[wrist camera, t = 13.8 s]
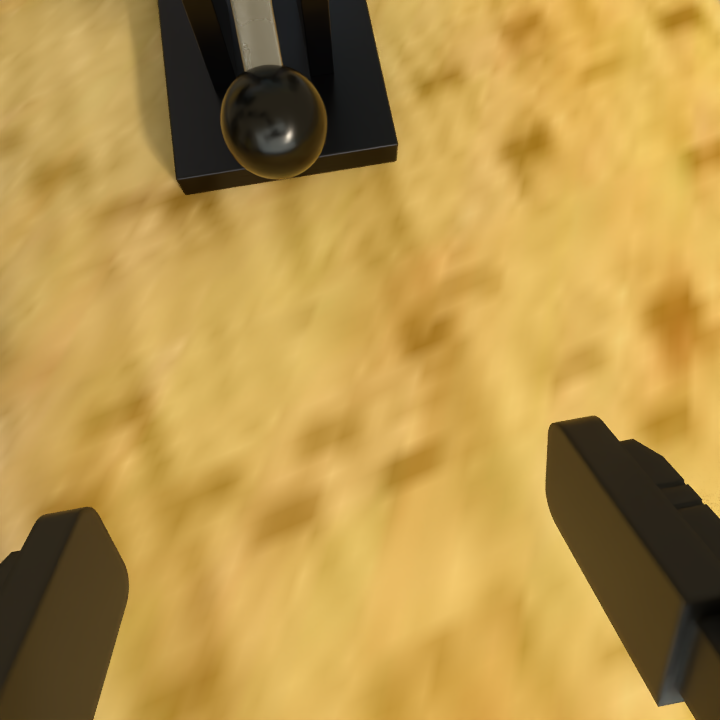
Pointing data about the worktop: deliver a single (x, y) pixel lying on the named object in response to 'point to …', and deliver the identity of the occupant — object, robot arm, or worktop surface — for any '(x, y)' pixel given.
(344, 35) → the bracket
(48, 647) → the robot arm
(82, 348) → the worktop surface
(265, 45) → the lever
